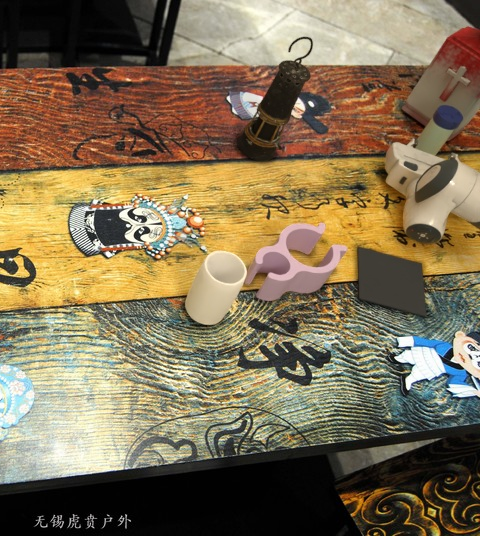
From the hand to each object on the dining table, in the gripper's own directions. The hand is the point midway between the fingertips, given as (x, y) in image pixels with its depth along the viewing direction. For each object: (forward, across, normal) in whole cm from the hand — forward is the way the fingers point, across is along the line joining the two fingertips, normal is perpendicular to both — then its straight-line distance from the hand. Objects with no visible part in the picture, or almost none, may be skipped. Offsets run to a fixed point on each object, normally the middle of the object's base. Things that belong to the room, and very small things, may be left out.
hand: (433, 148), depth 172 cm
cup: (-66, +38, +5) cm, 76 cm away
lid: (+5, 0, -7) cm, 8 cm away
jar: (+5, 0, +5) cm, 7 cm away
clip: (-49, +24, +5) cm, 55 cm away
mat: (-40, +3, +5) cm, 41 cm away
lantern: (-16, +38, +6) cm, 42 cm away
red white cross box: (+18, -1, +6) cm, 19 cm away
